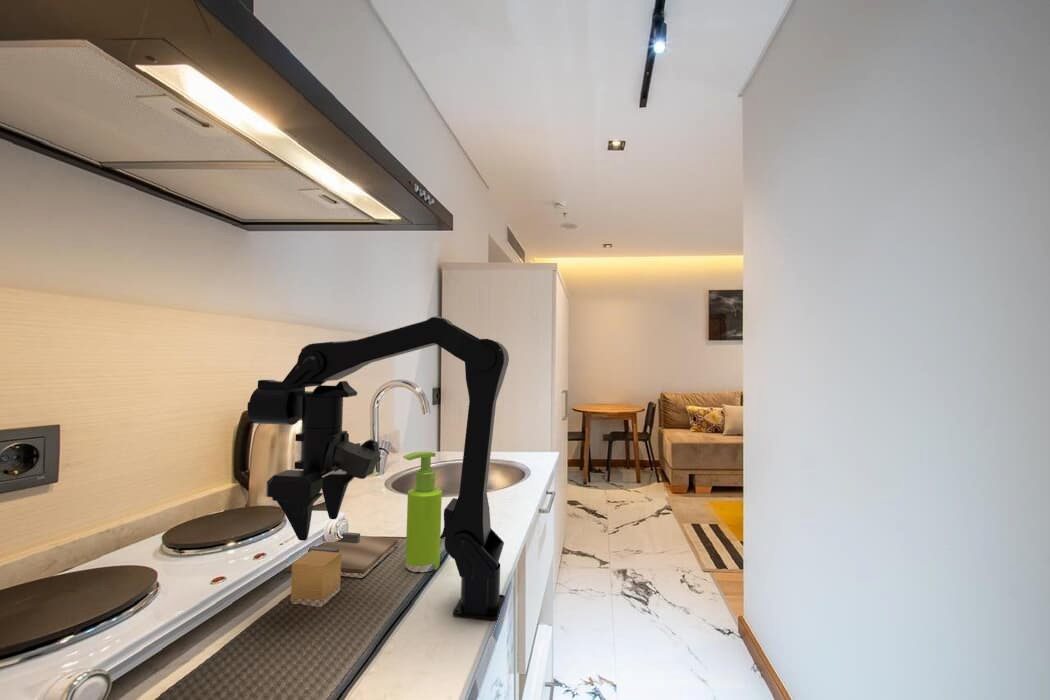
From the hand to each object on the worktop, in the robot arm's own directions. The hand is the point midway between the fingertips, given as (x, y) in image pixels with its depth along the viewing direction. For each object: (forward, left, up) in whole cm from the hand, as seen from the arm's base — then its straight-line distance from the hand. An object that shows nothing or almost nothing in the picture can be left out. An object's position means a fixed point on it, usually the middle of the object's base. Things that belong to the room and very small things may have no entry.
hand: (319, 528), depth 73 cm
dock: (+14, +3, -10) cm, 18 cm away
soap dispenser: (+13, -11, -10) cm, 20 cm away
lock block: (0, 0, -10) cm, 10 cm away
